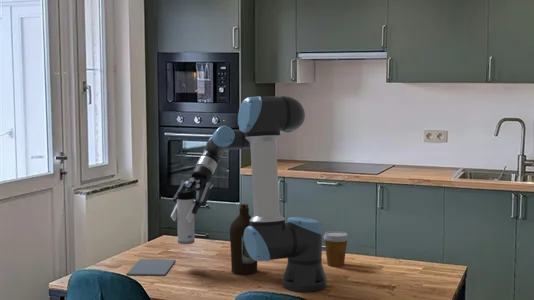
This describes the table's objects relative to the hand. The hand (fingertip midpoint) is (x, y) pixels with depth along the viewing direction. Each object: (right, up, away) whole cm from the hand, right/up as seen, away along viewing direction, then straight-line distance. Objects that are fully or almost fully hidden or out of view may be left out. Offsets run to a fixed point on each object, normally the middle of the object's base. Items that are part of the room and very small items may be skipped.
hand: (180, 219), depth 244 cm
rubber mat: (-11, -19, +4) cm, 22 cm away
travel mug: (+2, -9, +4) cm, 10 cm away
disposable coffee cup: (+58, -18, +9) cm, 62 cm away
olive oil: (+24, -19, 0) cm, 31 cm away
